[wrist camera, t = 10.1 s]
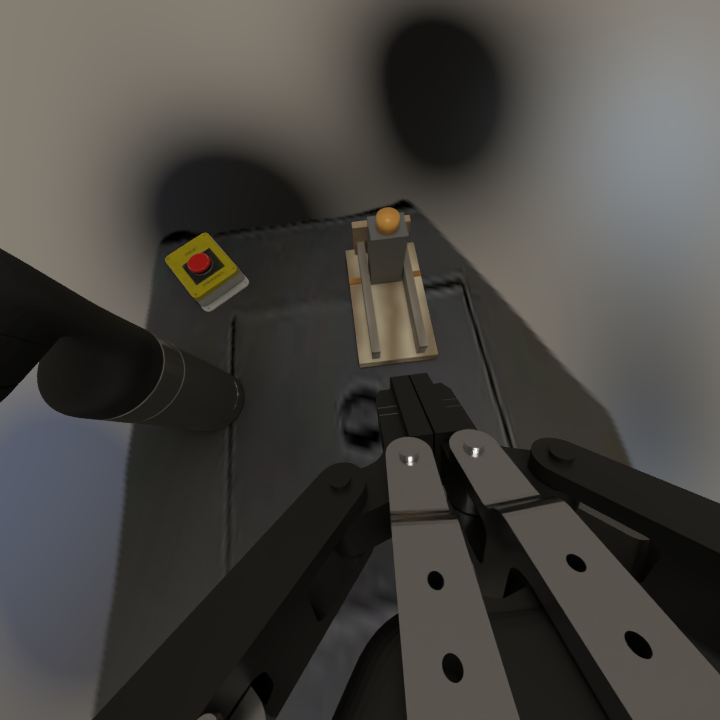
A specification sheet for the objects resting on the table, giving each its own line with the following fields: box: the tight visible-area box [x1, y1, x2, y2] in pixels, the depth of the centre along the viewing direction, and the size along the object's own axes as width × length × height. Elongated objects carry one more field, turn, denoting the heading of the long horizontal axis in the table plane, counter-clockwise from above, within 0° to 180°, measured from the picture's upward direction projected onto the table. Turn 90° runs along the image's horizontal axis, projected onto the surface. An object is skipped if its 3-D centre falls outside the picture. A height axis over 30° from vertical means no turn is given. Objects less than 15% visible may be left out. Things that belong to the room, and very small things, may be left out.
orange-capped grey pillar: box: [367, 208, 408, 284], centre depth 40 cm, size 5×4×12 cm
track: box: [346, 215, 438, 368], centre depth 43 cm, size 12×21×8 cm, turn 7°
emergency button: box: [165, 233, 249, 312], centre depth 48 cm, size 9×4×15 cm
